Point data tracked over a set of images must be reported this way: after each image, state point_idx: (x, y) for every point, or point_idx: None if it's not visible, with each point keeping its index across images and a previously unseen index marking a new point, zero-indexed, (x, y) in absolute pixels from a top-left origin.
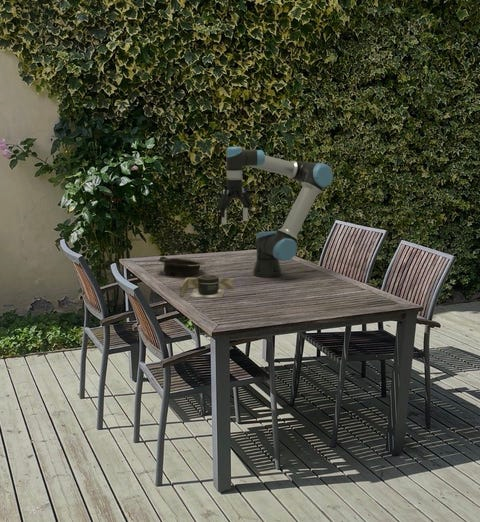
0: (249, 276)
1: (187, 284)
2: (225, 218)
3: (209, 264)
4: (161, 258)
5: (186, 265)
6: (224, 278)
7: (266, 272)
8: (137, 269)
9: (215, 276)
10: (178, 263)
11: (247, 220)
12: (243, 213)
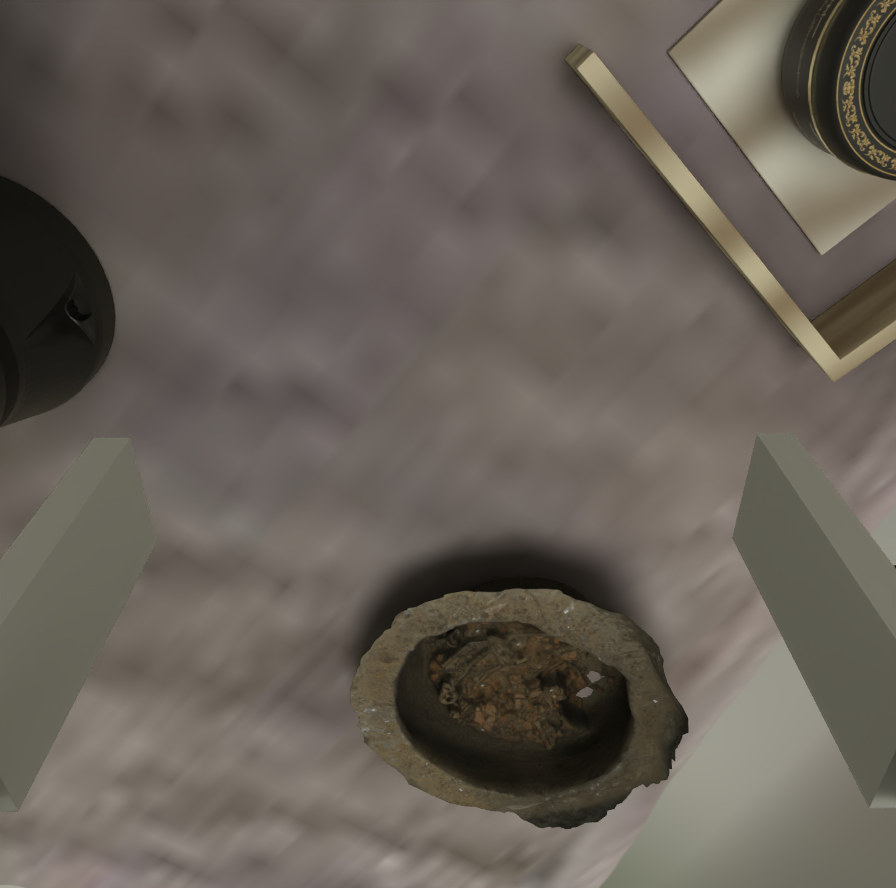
0: (164, 335)
1: (853, 317)
2: (845, 516)
3: (210, 732)
4: (589, 812)
5: (600, 613)
6: (635, 135)
7: (32, 223)
8: (624, 831)
9: (875, 38)
10: (469, 755)
11: (95, 447)
12: (86, 653)
